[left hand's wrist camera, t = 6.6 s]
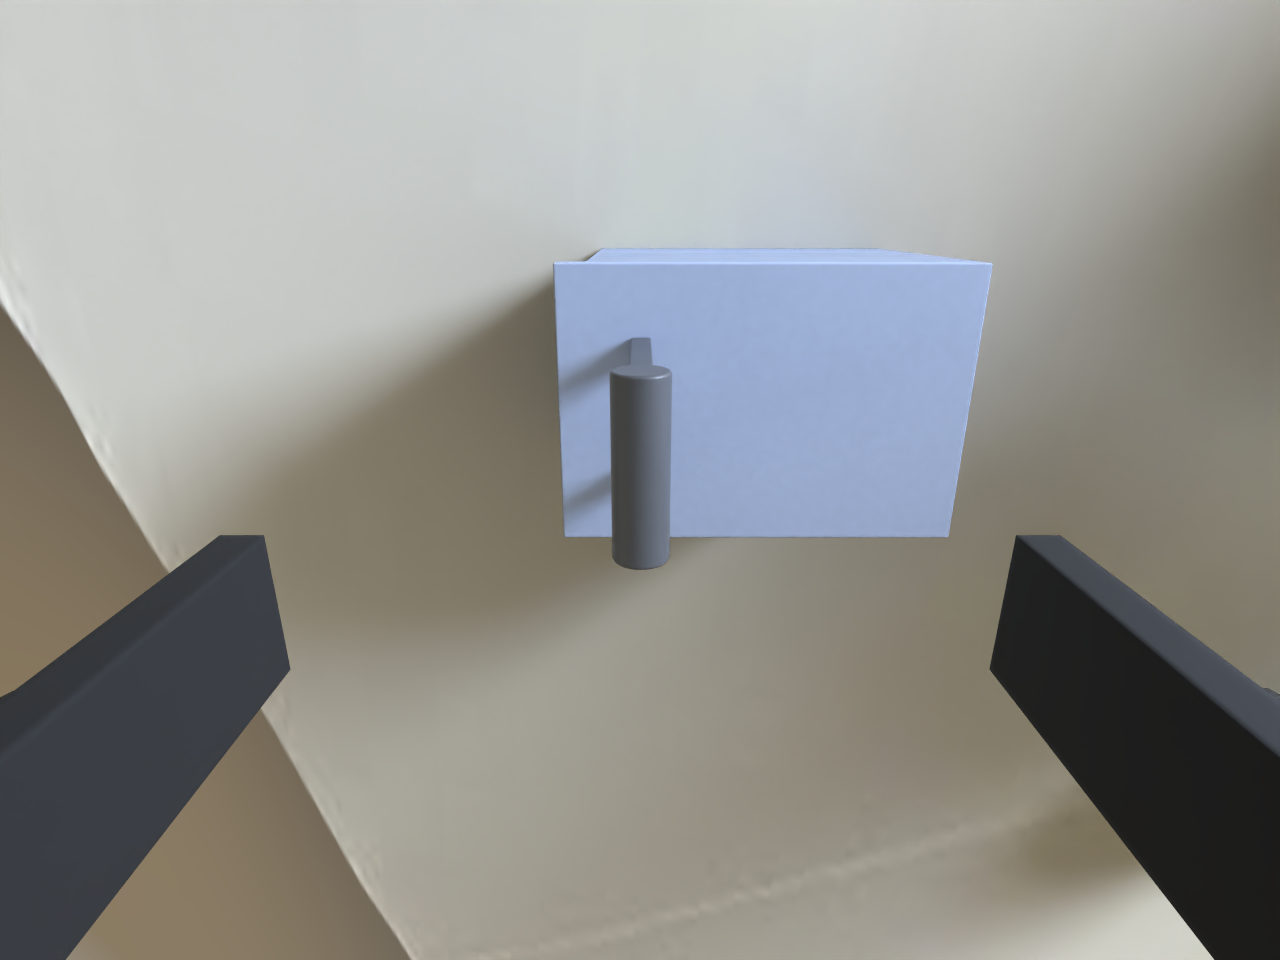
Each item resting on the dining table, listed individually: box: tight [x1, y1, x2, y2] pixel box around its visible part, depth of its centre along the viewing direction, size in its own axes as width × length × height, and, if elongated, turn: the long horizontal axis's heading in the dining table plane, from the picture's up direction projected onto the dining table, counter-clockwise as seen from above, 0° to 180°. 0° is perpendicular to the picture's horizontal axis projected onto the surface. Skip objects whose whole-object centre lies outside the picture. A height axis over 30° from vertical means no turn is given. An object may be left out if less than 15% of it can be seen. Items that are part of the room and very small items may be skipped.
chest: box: [586, 249, 977, 262], centre depth 32 cm, size 14×10×11 cm
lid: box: [553, 262, 992, 570], centre depth 23 cm, size 15×10×8 cm
